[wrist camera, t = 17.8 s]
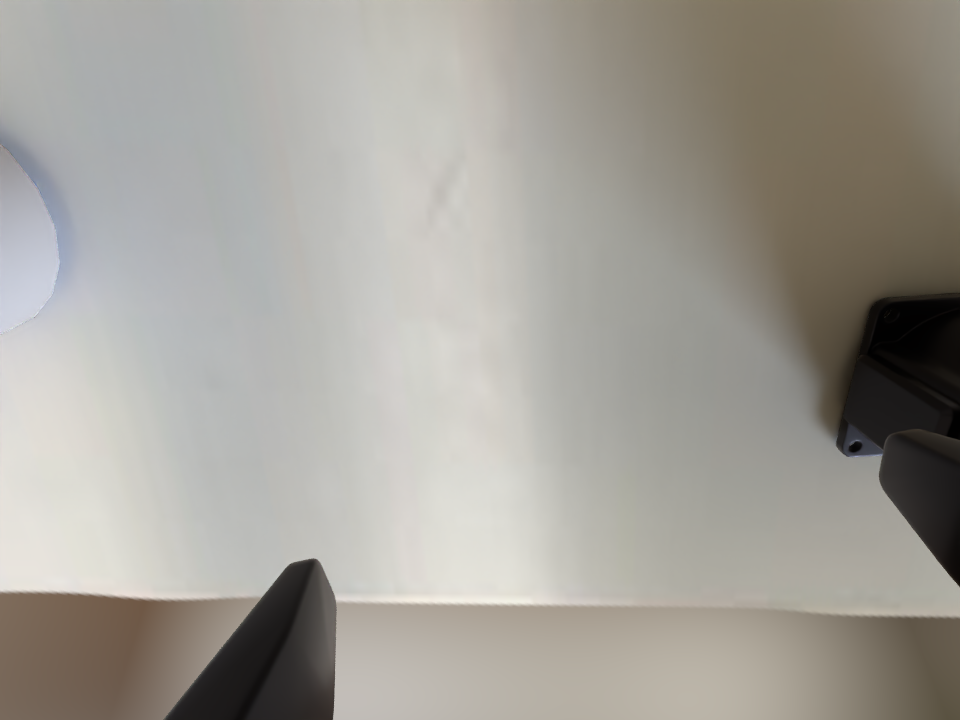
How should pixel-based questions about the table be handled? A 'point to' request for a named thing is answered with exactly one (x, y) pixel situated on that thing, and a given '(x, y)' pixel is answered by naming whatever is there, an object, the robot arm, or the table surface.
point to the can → (24, 246)
